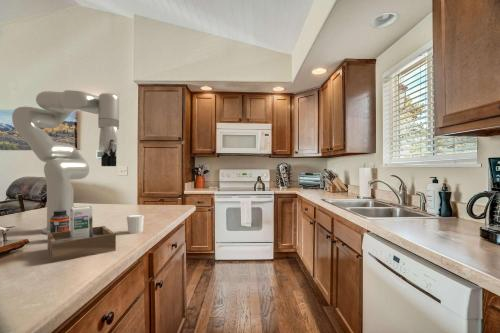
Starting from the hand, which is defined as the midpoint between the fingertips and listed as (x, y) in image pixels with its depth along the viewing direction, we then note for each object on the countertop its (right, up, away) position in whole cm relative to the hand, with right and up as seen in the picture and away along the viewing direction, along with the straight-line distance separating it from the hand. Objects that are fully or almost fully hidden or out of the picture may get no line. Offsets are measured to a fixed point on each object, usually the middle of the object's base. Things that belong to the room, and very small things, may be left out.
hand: (108, 166), depth 108 cm
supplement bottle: (-15, -28, -7) cm, 33 cm away
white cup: (+9, -29, +5) cm, 30 cm away
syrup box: (+1, -28, -19) cm, 34 cm away
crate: (+2, -28, -20) cm, 34 cm away
